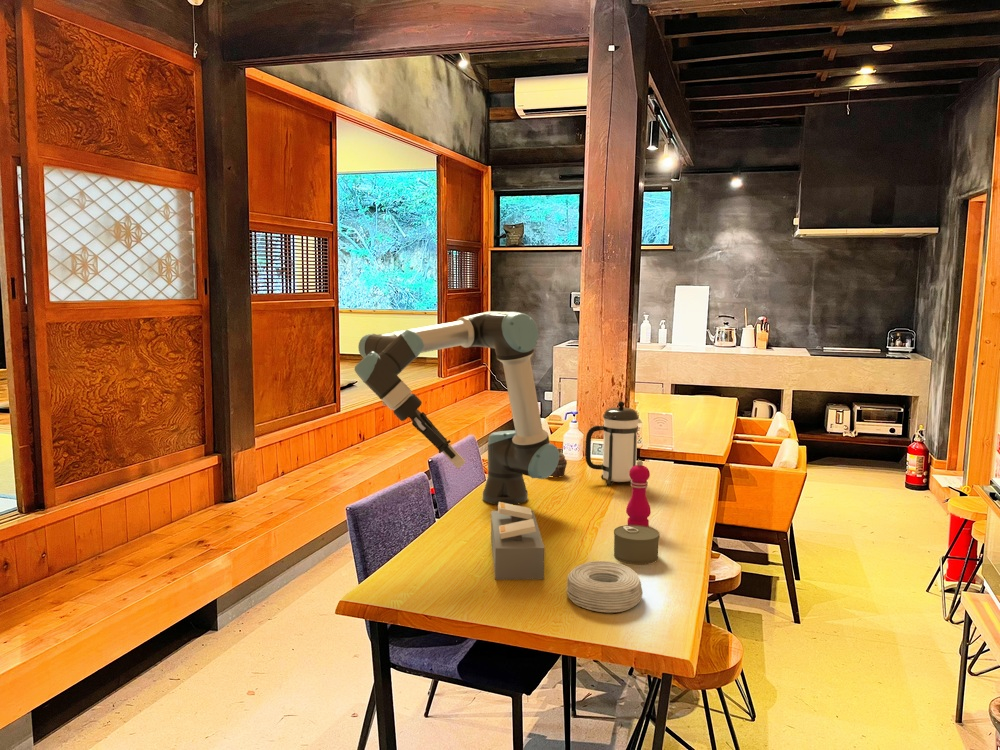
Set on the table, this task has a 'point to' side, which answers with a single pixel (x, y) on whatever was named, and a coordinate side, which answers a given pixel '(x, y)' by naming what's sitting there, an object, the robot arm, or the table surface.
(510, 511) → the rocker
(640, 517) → the pepper mill
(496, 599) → the table surface
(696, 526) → the table surface
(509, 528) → the rocker
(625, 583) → the cable
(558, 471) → the cupcake
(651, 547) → the can
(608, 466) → the coffee press
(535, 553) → the rocker switch box
